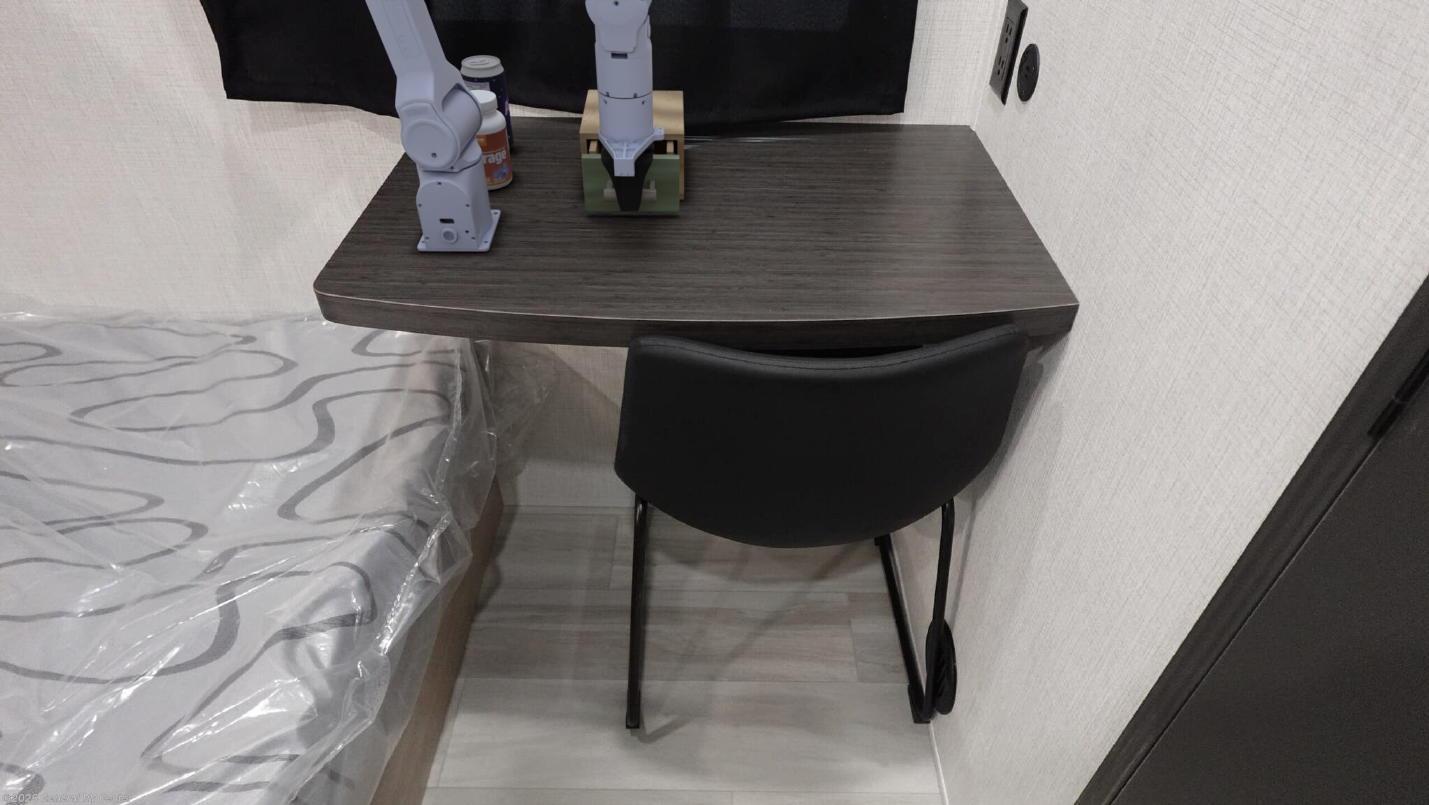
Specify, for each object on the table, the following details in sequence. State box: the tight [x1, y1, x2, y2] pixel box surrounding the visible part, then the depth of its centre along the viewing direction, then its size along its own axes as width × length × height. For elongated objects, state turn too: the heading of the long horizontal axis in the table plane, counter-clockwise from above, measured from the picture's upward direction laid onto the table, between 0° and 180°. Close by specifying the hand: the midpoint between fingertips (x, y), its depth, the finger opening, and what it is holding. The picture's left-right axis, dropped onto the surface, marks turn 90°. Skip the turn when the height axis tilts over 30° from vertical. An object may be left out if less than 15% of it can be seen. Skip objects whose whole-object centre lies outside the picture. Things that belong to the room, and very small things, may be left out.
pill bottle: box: [470, 90, 513, 191], centre depth 105 cm, size 6×6×11 cm
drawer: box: [580, 139, 680, 213], centre depth 103 cm, size 18×11×7 cm, turn 2°
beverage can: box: [459, 54, 515, 150], centre depth 113 cm, size 6×6×12 cm
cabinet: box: [578, 89, 685, 200], centre depth 109 cm, size 15×13×9 cm
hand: (630, 208), depth 96 cm, fingers closed
